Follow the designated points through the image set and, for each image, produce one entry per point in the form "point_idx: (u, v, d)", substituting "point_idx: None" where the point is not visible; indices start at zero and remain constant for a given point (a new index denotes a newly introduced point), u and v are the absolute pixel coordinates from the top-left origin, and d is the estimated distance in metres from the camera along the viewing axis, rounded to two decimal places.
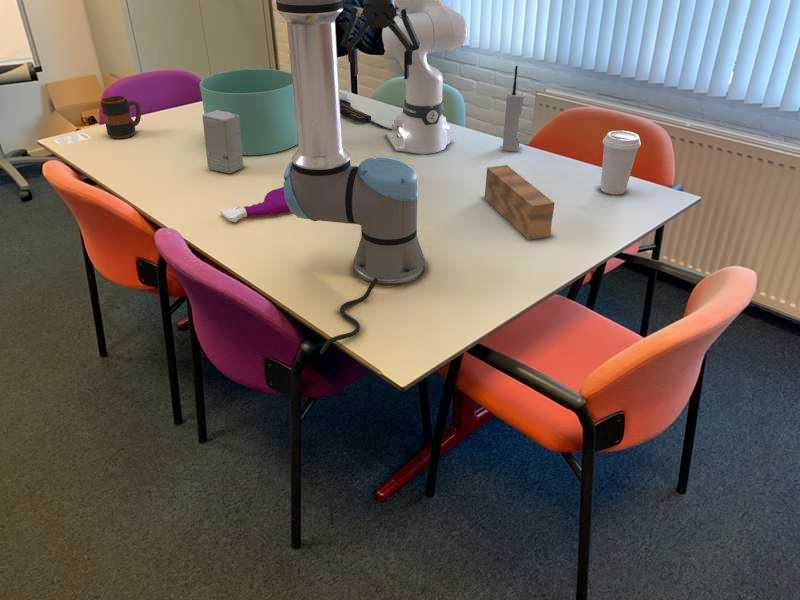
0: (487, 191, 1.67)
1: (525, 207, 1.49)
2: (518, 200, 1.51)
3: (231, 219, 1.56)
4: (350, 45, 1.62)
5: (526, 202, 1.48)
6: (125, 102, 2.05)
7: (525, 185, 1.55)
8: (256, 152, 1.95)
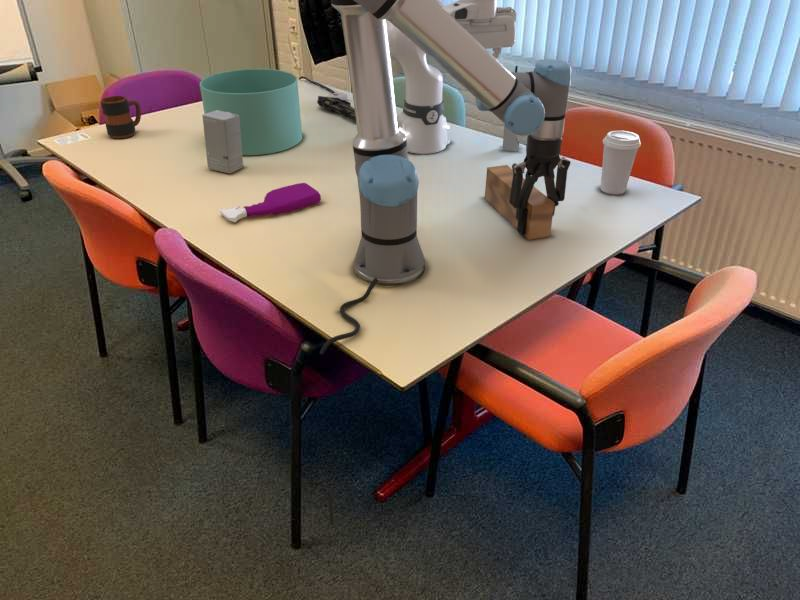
0: (487, 191, 1.67)
1: None
2: None
3: (231, 219, 1.56)
4: (523, 205, 1.47)
5: None
6: (125, 102, 2.05)
7: None
8: (256, 152, 1.95)
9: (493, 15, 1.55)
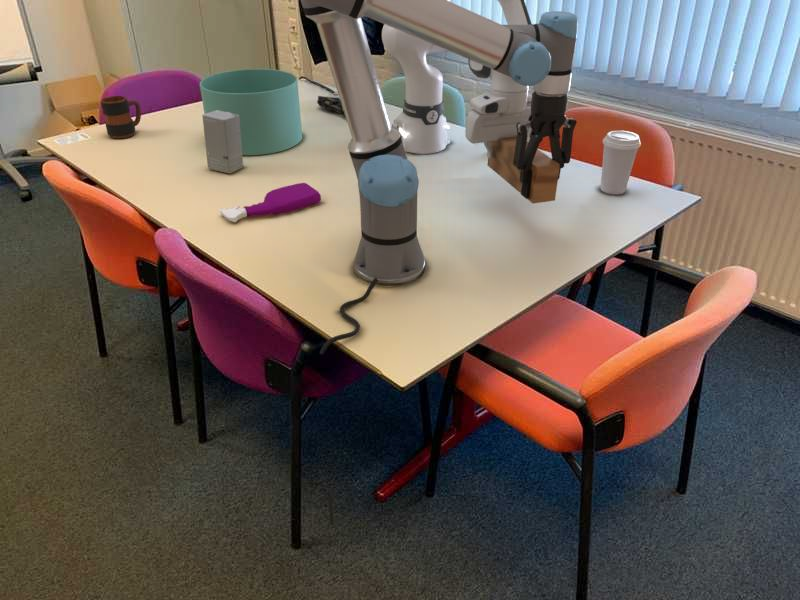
0: None
1: None
2: None
3: (231, 219, 1.56)
4: (528, 166, 1.42)
5: None
6: (125, 102, 2.05)
7: None
8: (256, 152, 1.95)
9: (524, 108, 1.52)
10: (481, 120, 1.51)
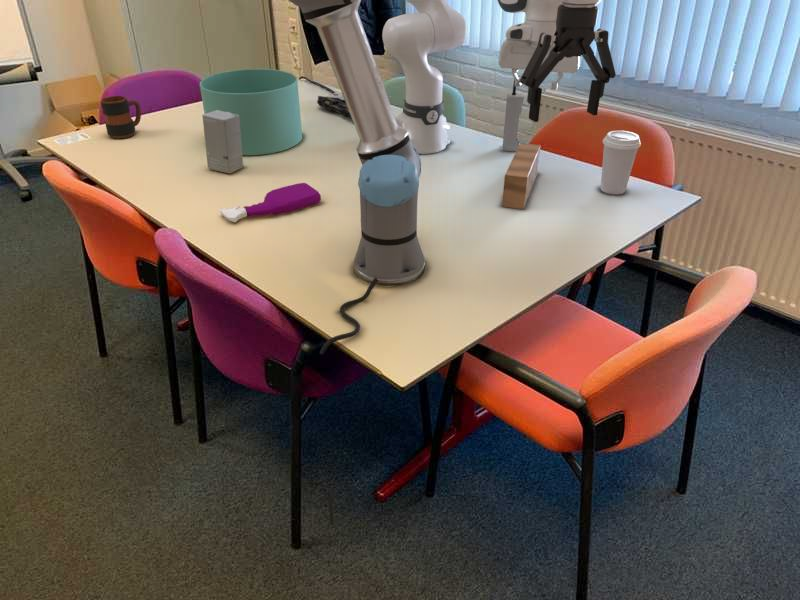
0: None
1: None
2: None
3: (231, 219, 1.56)
4: (537, 83, 1.25)
5: (506, 172, 1.63)
6: (125, 102, 2.05)
7: (528, 161, 1.69)
8: (256, 152, 1.95)
9: None
10: (507, 45, 1.62)
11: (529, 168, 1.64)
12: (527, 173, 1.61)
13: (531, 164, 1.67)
